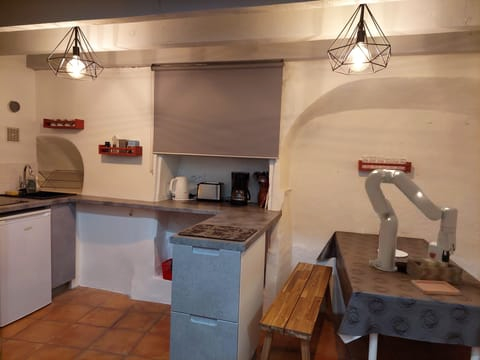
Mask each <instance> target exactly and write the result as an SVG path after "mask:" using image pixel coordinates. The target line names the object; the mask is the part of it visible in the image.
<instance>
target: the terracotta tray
mask: <svg viewBox="0 0 480 360" xmlns="http://www.w3.org/2000/svg"><path fill="white" fill-rule="evenodd" d="M410 284H411V285H412V286H414V287H415V288H416V289H418V290H419V291H420V292H421V293H423V295H437V296H438V295H442V296H443V295H444V296H445V295H446V296H461V295H462V292H461V290H459V289H458V288H456V287H455V286H453V285H451V284H448V283H447V282H445V281H427V280H416V279H411V280H410Z"/></svg>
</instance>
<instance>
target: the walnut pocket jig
mask: <svg viewBox="0 0 480 360" xmlns="http://www.w3.org/2000/svg"><path fill="white" fill-rule="evenodd" d="M421 261H422V259H413V258H412V259H410V258H407V262H406V272H407V273H406V274H407V275H409V276H410V277H412V278H413V280H427V281H445V282H447V283H448V284H450V285H451V284H452V285H462V281H463V273H464V272H463V271H464V269H462V268H461V267H459V266H457V265H455V264H454V263H452V262H450V261H449V262H447V263H448V267H438V266H421Z"/></svg>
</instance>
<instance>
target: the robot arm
mask: <svg viewBox="0 0 480 360" xmlns="http://www.w3.org/2000/svg"><path fill="white" fill-rule="evenodd" d="M382 184H390V185H394V186H395V187H396V188H397V189H398V190H399V191H400V192H401V193H402V194H403V196H405V197H406V198H407V199H408V200H409V201H410V202H411V203H412V204H413V205H414V206H415V207H416V208H417V209H418V210H419V211H420V212H421V213H422V214H423V215H424V216H425V217H426V218H427V219H429V220H430V221H432V222H433V221H434V222H436V221H439V220H440V222H439V223H440V224H439V225H440V226H439V230H438V234H437V240H436V242H437V247H439V248H440V249H441V251H442V261H443V262H450V257H451V255H454V254H455V251H456V248H457V223H458V213H459V210H458V208H457V207H451V206H441V205H440V206H439V205H435V203H434V202H433V201H432V200H430V199H429V197H428V196H427V195H426V194H425V192H424V191H423V190H422V188H420V186H419V185H417V184H416V183H415V182H414V181H413V180H412V179H411V178H410V177H409V176H408V175H407V174H406V173H405V171H402V170H400V169H399V170H397V169H395V170H394V169H379V168H378V169H373V170H372V171H371V172H370V173H369V174H368V175H367V176H366V179H365V180H364V189H365V192H366V194H367V197H368V200H369V201H370V202H369V203H370V204H371V206H372V209H373V211H374V212H375V213H376V214H377V215H378V217H379V220H380V222H379V237H378V250H377V258H376V259H375V260H369V261H368V263H369V264H370V265H373V266H374V267H375V269H378V270H380V271H383V272H391V273H392V272H397V271H398V267H397V266H396V254H397V240H398V232H399V219H398V217H397V214H396V212H395V210H394V208H393V206H392V204H391V202H390V200H388V199H387V198H386V196H385V194H384V193H383V190H382V188H381V185H382Z"/></svg>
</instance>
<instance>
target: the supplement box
mask: <svg viewBox="0 0 480 360" xmlns="http://www.w3.org/2000/svg"><path fill="white" fill-rule="evenodd" d="M427 259H434V260H442V251H441V249H440V248H439V247H437V241H432V242H430V243H428V251H427Z"/></svg>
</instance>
